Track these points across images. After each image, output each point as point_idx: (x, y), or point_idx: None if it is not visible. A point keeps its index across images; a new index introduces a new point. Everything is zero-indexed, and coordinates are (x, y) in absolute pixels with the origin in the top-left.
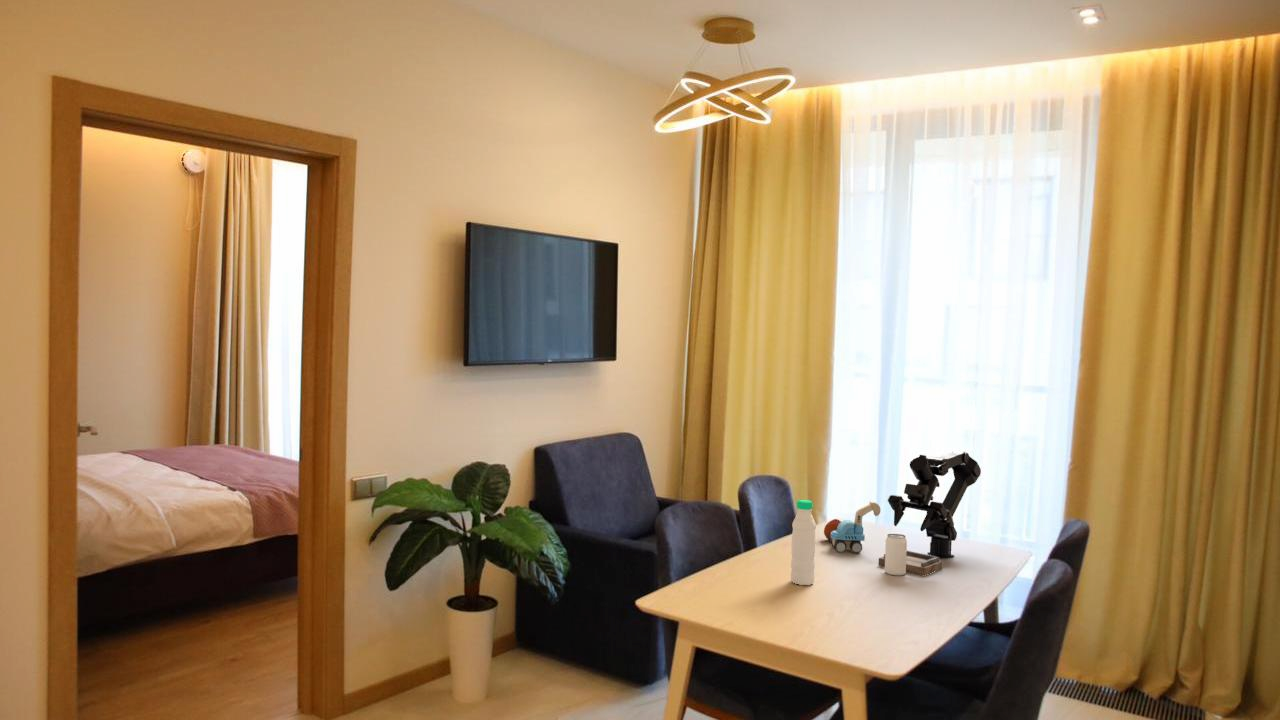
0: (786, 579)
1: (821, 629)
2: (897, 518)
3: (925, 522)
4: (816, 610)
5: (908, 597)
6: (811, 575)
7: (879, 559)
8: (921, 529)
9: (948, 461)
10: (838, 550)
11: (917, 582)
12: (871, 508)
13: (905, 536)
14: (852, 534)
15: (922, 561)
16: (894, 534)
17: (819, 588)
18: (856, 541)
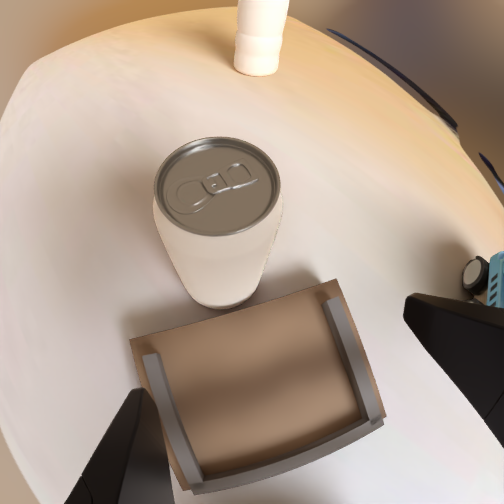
0: (284, 66)
1: (106, 42)
2: (457, 331)
3: (96, 454)
4: (143, 46)
5: (66, 153)
6: (235, 53)
7: (331, 280)
8: (133, 392)
9: None
10: (465, 269)
11: (105, 256)
12: None
13: (166, 215)
14: (501, 295)
15: (216, 421)
16: (268, 208)
17: (213, 70)
18: None
